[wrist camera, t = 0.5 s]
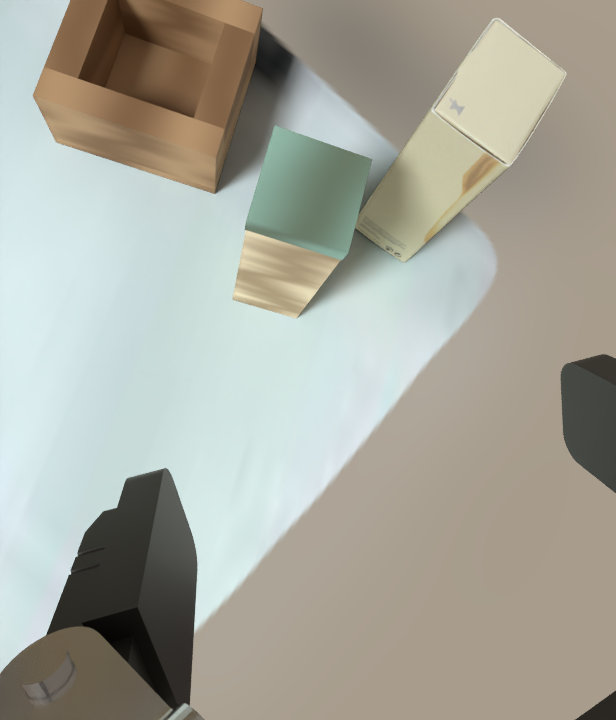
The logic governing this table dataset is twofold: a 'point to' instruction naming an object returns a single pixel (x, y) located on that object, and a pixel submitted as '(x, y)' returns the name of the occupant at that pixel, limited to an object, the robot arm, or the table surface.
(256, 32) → the socket block
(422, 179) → the skincare box
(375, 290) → the table surface
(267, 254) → the peg
